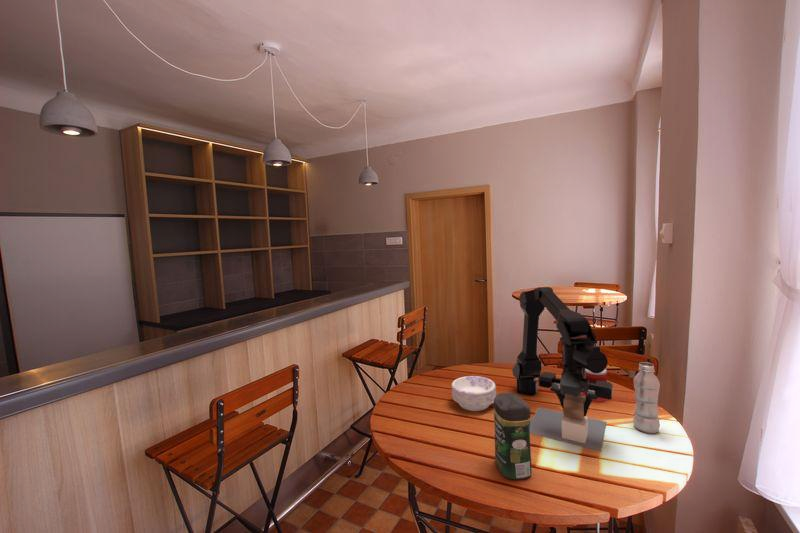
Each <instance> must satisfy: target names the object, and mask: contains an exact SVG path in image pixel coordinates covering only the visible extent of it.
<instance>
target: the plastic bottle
mask: <svg viewBox="0 0 800 533" xmlns="http://www.w3.org/2000/svg"><path fill="white" fill-rule="evenodd" d="M638 364H639V365H638V372H637V373H636V374H635V376H634V377H633V387H634V393H635V394H634V395H635V406H634V413H633V417H632V418H633V419H632V422H633V426H634V428H636V429H637V430H638V431H640V432H642V433H645V434H651V435H654V434H657V433H658V432H659V430H660V427H661V423H660V418H659V412H658V403H659V400H658V399H659V394H660V387H661V384H660V383H661V382H660V381H659V379H658V378H657V376H656V375H655V374H654V373H655V365H654V364H652V363H650V362H639V363H638Z"/></svg>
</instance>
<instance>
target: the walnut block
mask: <svg viewBox="0 0 800 533" xmlns="http://www.w3.org/2000/svg"><path fill="white" fill-rule="evenodd" d="M585 400H586V397H585V396H583V395H580V396H578V397H576V396H573V395H569V394H565V397H564V399H563V401H564V411H563V413H564V417H568V418H573V419H577V420H581V421H583V420H584V417H585V416H584V407H585Z"/></svg>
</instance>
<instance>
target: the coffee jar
mask: <svg viewBox="0 0 800 533" xmlns="http://www.w3.org/2000/svg"><path fill="white" fill-rule="evenodd" d="M493 418H494V419H493V421H494V460H495V464H496V466H497V468H498V469H499V471H500V473H501V474H502V475H503V476H504V477H505V478H508V479H512V480H515V481H516V480H523V479H527V478H529V477H531V475H532V474H533V472H532V454H531V438H530V437H531V433H530V421H531V419H532V418H531V408H530V405H529V404H528V403H527V402H526V400H524V399H523V398H522V397H521V396H519V395H517V394H515V393H514V392H501V393H498V394H496V397H495V398H494V402H493Z"/></svg>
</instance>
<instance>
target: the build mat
mask: <svg viewBox="0 0 800 533" xmlns="http://www.w3.org/2000/svg"><path fill="white" fill-rule="evenodd" d="M563 416H564V411H563V412H562V411H559V410H555V409H549V408H543V407H538V408H537V409H536V411H535V413H534V415H533V417H532V418H531V419H530V435H531V434H532V435H536V436H539V437H543V438H545V439H546V438H547V439H551V440H553V441H558V442H562V443H564V444H569V445H574V446H578V447H582V448H585V449H589V450H593V451H597V452H601V453H602V448H603V444H604V439H605V438H604V437H605V433H606V430H607V429H606V428H607V422H608V421H605V420H600V419H595V418H590V417H588V435H587V439H586V443H581V442H577V441H573V440H569V439H565V438H562V419H563Z"/></svg>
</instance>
